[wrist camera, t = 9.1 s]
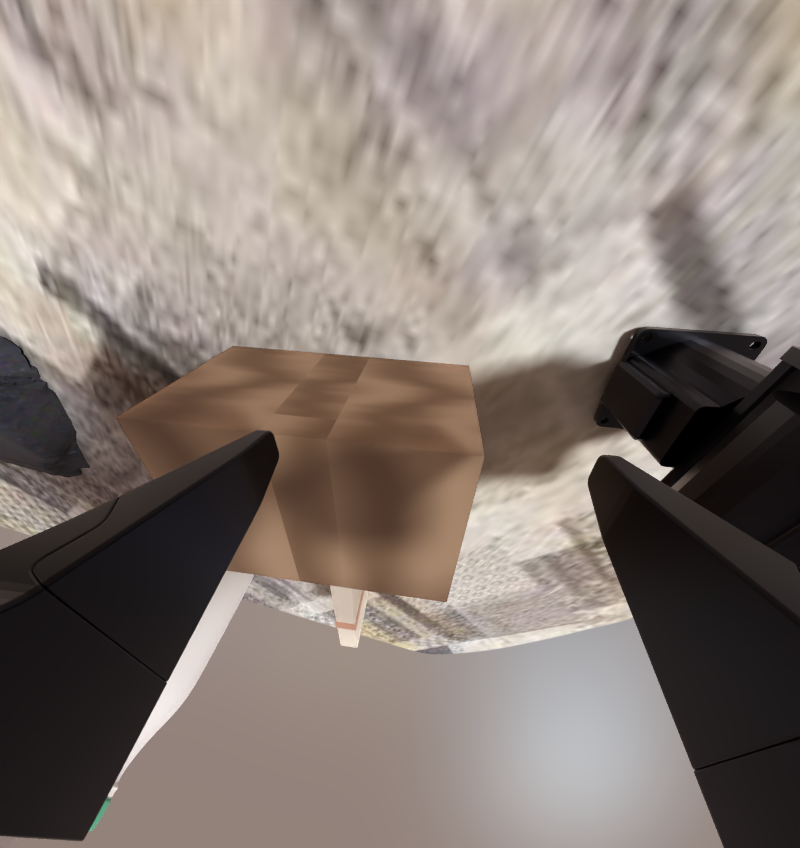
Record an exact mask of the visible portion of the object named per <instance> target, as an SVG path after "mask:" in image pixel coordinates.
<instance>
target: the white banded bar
mask: <svg viewBox="0 0 800 848" xmlns="http://www.w3.org/2000/svg"><path fill="white" fill-rule="evenodd" d="M330 588H331V594H332V599H333V605H334V610H335V616H336V625H337V628H338V632H339V638H340V643H341V645H343V646H349V647H355V648H358V643H359V638H360V633H361V628H362V623H363V618H364V613H365V608H366V603H367V598H368V593H369V591H365V590H358V589H351V588H344V587H337V586H330Z"/></svg>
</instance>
